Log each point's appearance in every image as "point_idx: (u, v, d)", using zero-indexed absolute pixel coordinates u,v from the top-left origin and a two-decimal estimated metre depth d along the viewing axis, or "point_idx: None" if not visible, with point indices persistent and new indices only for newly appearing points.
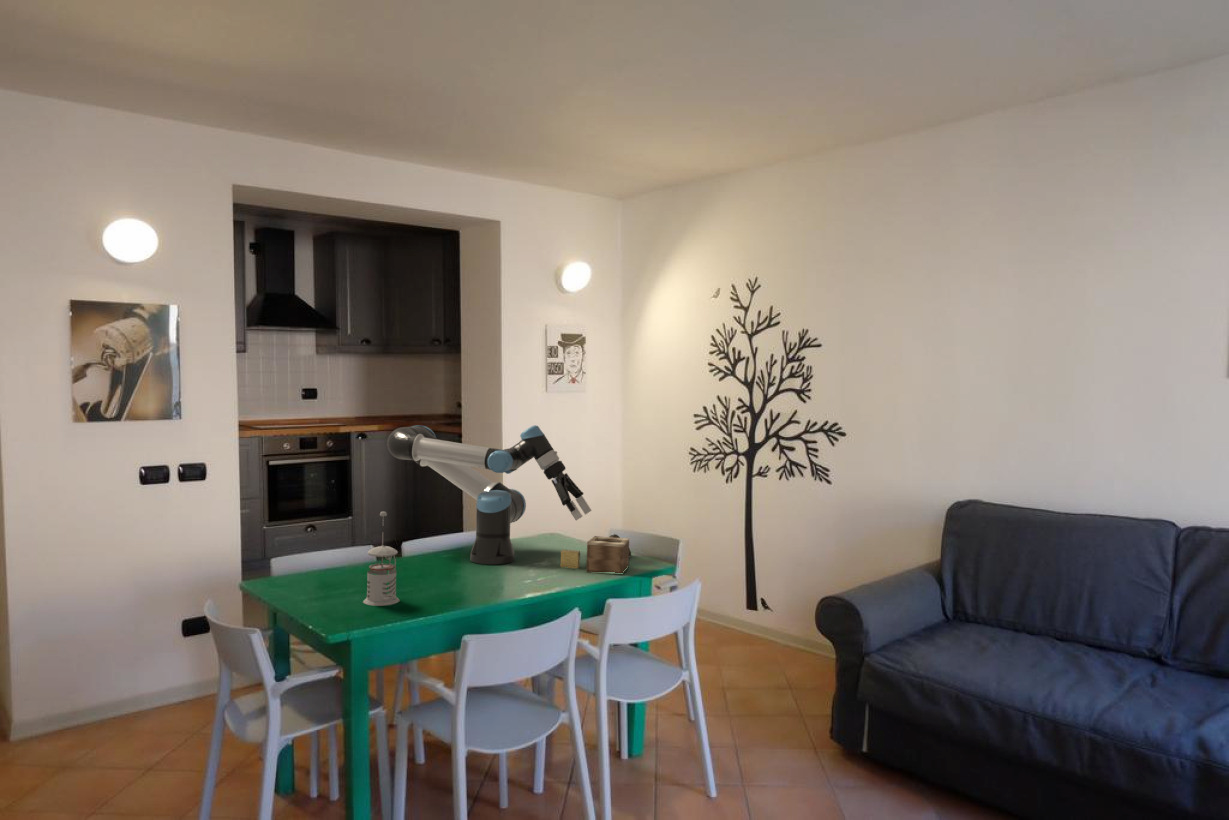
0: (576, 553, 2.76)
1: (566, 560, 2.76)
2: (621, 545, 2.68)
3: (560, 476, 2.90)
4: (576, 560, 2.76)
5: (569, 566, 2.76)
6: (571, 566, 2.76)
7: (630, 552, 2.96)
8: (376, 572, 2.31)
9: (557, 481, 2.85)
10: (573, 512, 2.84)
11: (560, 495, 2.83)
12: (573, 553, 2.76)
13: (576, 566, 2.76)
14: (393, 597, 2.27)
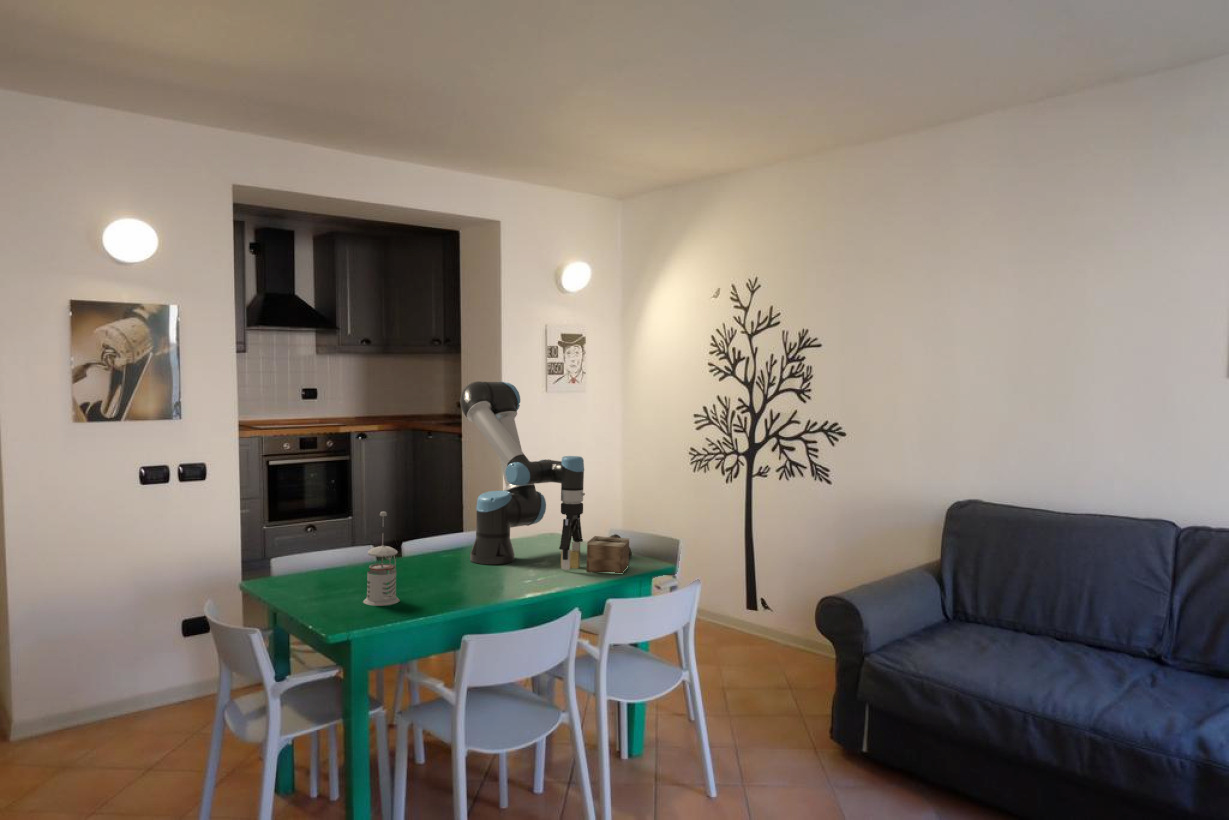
0: (576, 553, 2.75)
1: None
2: (621, 545, 2.68)
3: (573, 518, 2.75)
4: (576, 560, 2.76)
5: None
6: (571, 566, 2.76)
7: (631, 552, 2.96)
8: (376, 572, 2.31)
9: (568, 524, 2.70)
10: (564, 560, 2.70)
11: (562, 539, 2.68)
12: (573, 553, 2.76)
13: (576, 566, 2.76)
14: (393, 597, 2.27)
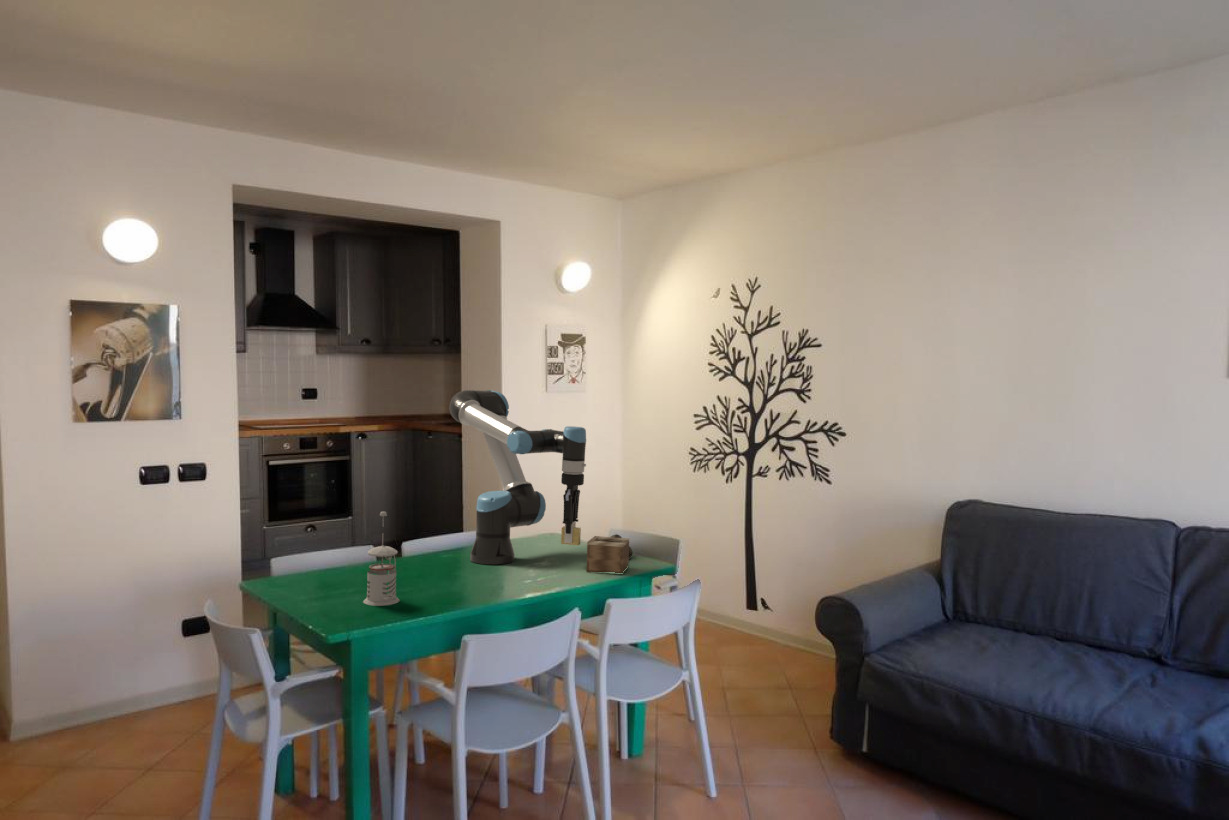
0: (577, 530, 2.76)
1: None
2: (621, 545, 2.68)
3: (573, 487, 2.74)
4: (577, 537, 2.76)
5: (570, 543, 2.76)
6: (572, 543, 2.76)
7: (632, 552, 2.96)
8: (376, 572, 2.31)
9: (569, 500, 2.71)
10: (567, 534, 2.76)
11: (565, 514, 2.72)
12: (574, 530, 2.76)
13: (577, 543, 2.76)
14: (393, 597, 2.27)
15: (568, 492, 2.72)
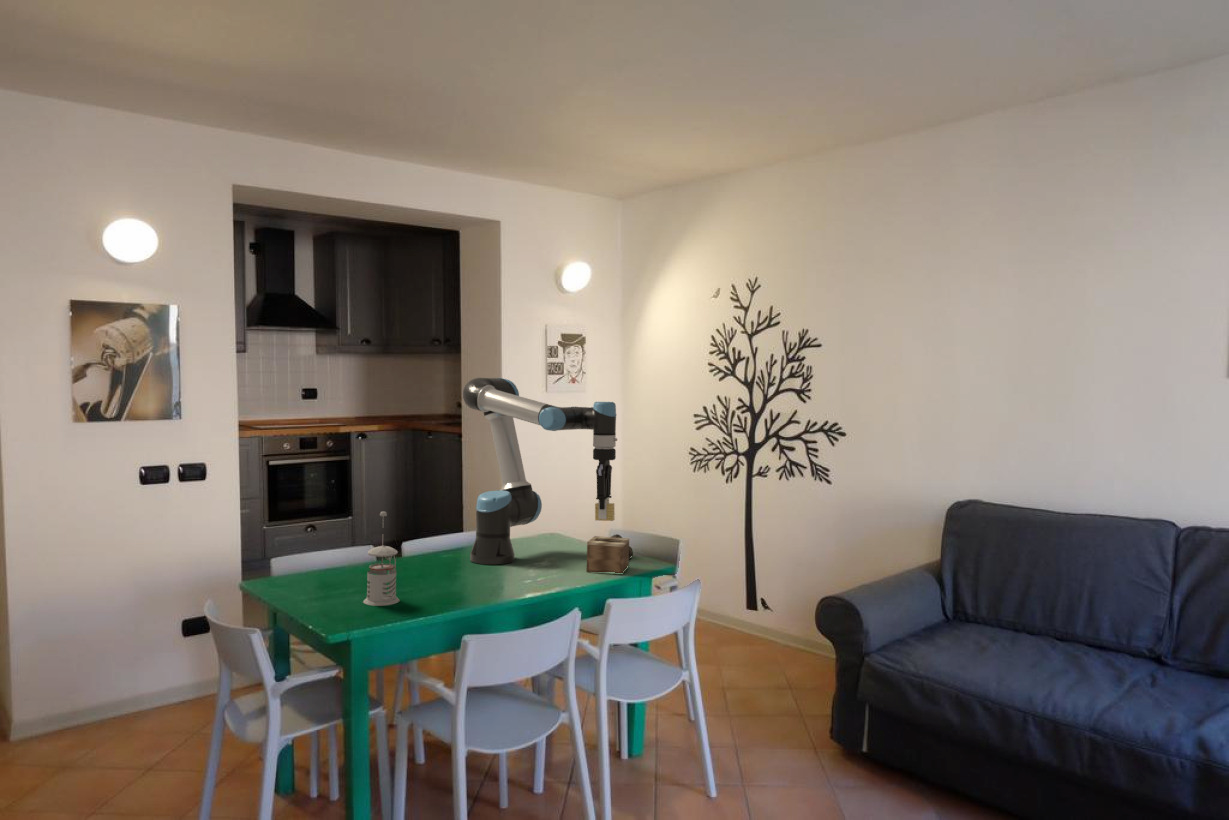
0: (611, 505, 2.72)
1: None
2: (621, 545, 2.68)
3: (605, 462, 2.71)
4: (611, 512, 2.72)
5: (604, 519, 2.73)
6: None
7: (632, 552, 2.96)
8: (376, 572, 2.31)
9: (601, 474, 2.68)
10: (600, 510, 2.72)
11: (598, 490, 2.69)
12: (607, 505, 2.72)
13: (611, 518, 2.72)
14: (393, 597, 2.27)
15: (600, 467, 2.69)
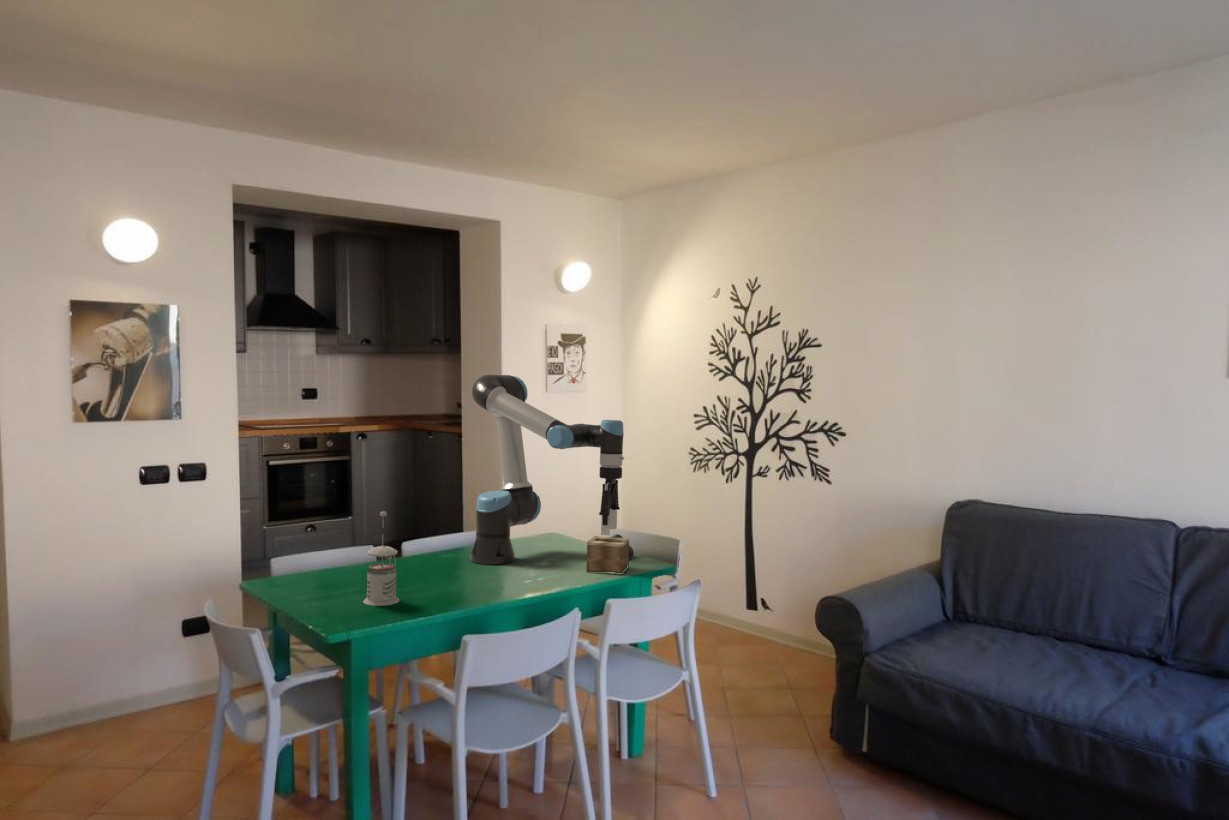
0: None
1: None
2: (621, 545, 2.68)
3: (612, 482, 2.72)
4: None
5: None
6: None
7: (633, 552, 2.96)
8: (376, 572, 2.31)
9: (608, 489, 2.67)
10: (603, 526, 2.68)
11: (603, 504, 2.66)
12: None
13: None
14: (393, 597, 2.27)
15: (607, 483, 2.69)
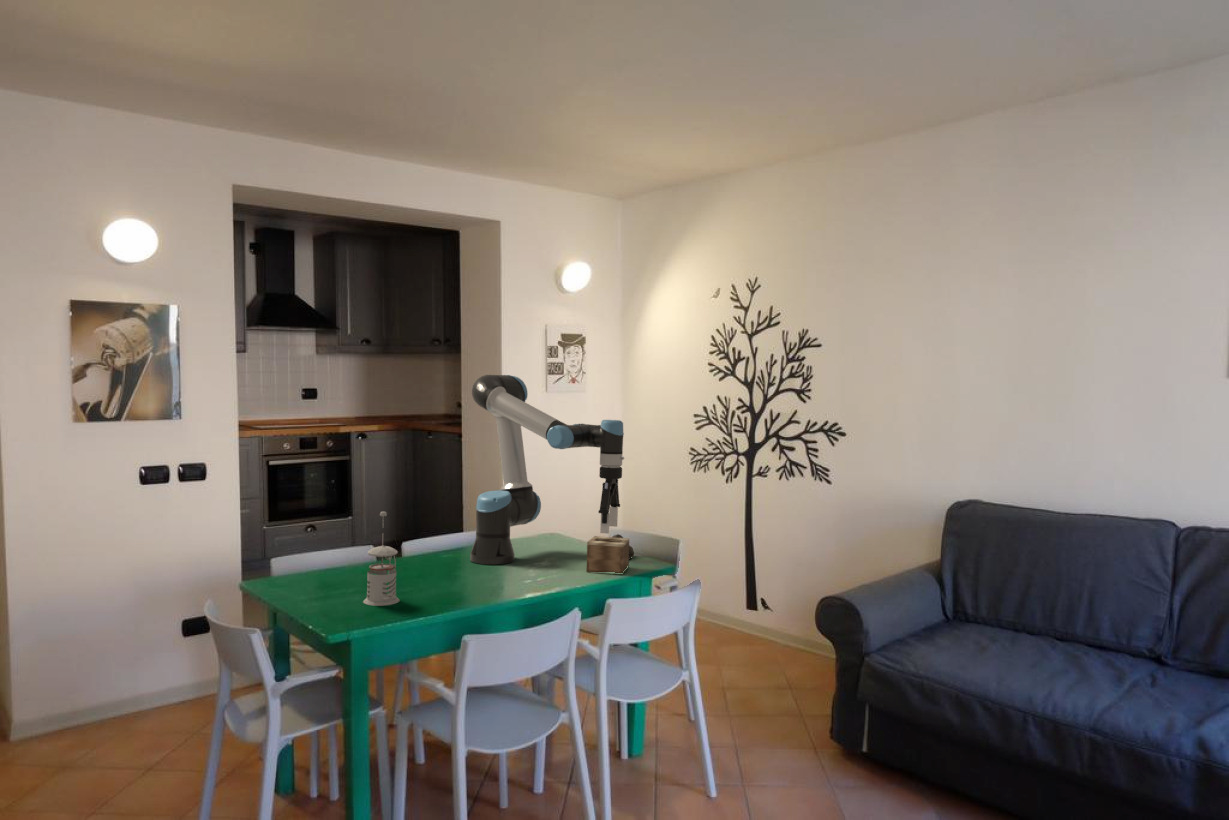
0: None
1: None
2: (621, 545, 2.68)
3: (612, 482, 2.72)
4: None
5: None
6: None
7: (633, 552, 2.96)
8: (376, 572, 2.31)
9: (608, 487, 2.67)
10: (603, 524, 2.67)
11: (602, 503, 2.65)
12: None
13: None
14: (393, 597, 2.27)
15: (607, 483, 2.69)
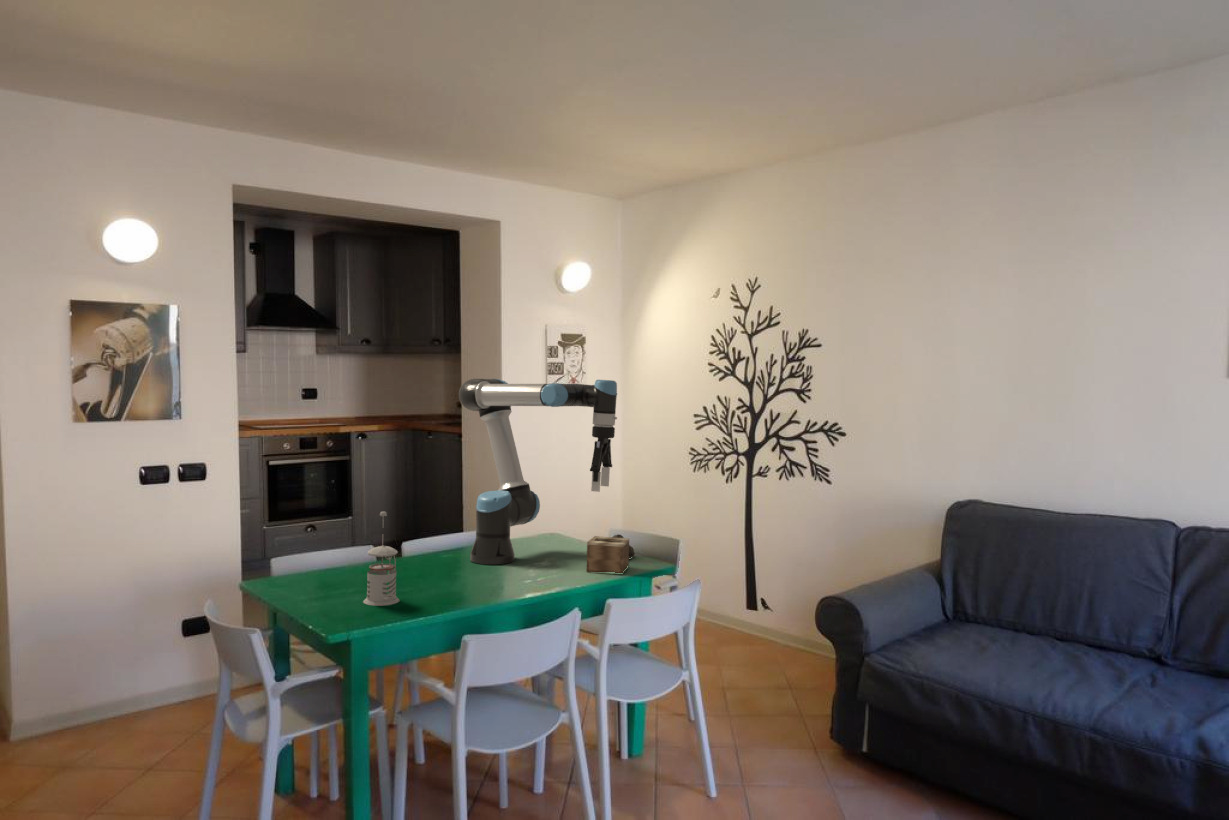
0: None
1: None
2: (621, 545, 2.68)
3: (604, 442, 2.74)
4: None
5: None
6: None
7: (633, 552, 2.96)
8: (376, 572, 2.31)
9: (599, 446, 2.69)
10: (594, 482, 2.70)
11: (594, 461, 2.68)
12: None
13: None
14: (393, 597, 2.27)
15: (599, 442, 2.72)
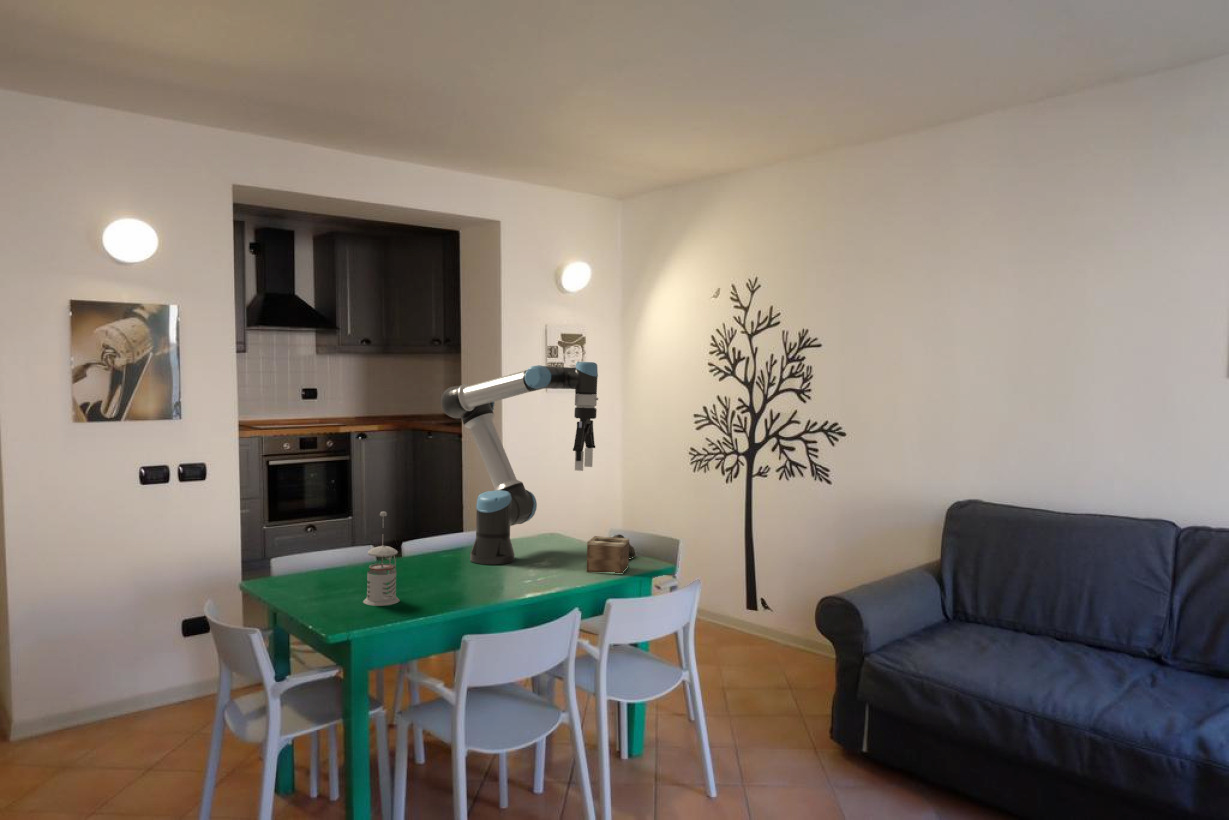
0: None
1: None
2: (621, 545, 2.68)
3: (586, 422, 2.80)
4: None
5: None
6: None
7: (634, 552, 2.96)
8: (376, 572, 2.31)
9: (582, 426, 2.75)
10: (577, 462, 2.76)
11: (576, 440, 2.74)
12: None
13: None
14: (393, 597, 2.27)
15: (581, 422, 2.78)
